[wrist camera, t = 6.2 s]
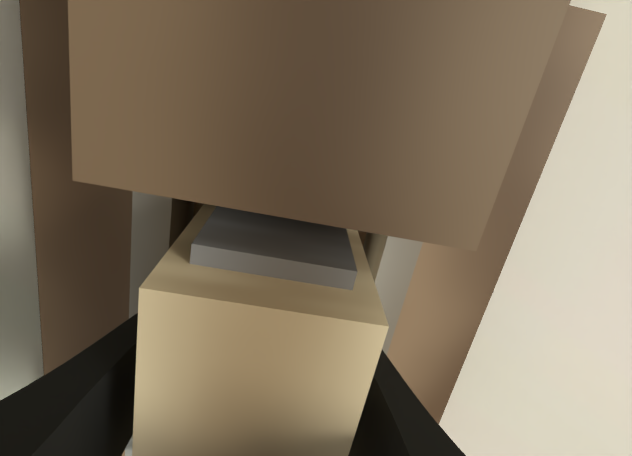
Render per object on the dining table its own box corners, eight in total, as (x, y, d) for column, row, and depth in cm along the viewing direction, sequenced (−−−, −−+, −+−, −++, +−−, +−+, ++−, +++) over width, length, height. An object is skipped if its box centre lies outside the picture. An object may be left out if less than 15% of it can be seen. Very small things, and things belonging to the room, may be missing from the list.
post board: (68, 544, 21) (-43, 764, 14) (36, -113, 11) (-393, -408, 4) (366, 572, 22) (391, 782, 16) (583, 19, 12) (908, -45, 6)
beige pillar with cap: (202, 373, 15) (126, 592, 9) (226, 164, 12) (140, 264, 6) (302, 387, 16) (300, 607, 9) (349, 187, 13) (395, 306, 6)
